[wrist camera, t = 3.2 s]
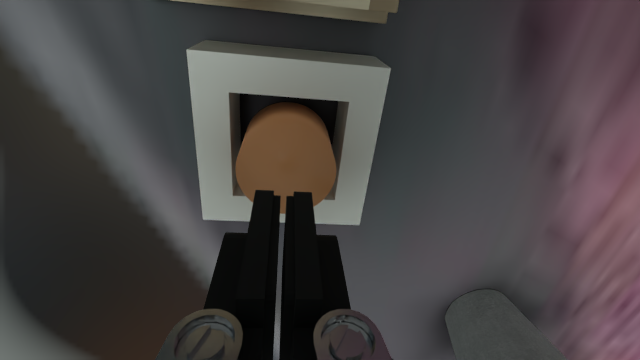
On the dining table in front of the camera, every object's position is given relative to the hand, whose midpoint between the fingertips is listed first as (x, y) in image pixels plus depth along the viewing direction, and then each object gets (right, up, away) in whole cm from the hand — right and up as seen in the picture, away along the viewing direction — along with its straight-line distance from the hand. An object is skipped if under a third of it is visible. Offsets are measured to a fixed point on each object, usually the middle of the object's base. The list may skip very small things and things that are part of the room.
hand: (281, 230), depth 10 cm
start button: (0, +3, +5) cm, 6 cm away
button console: (-1, +4, +7) cm, 8 cm away
